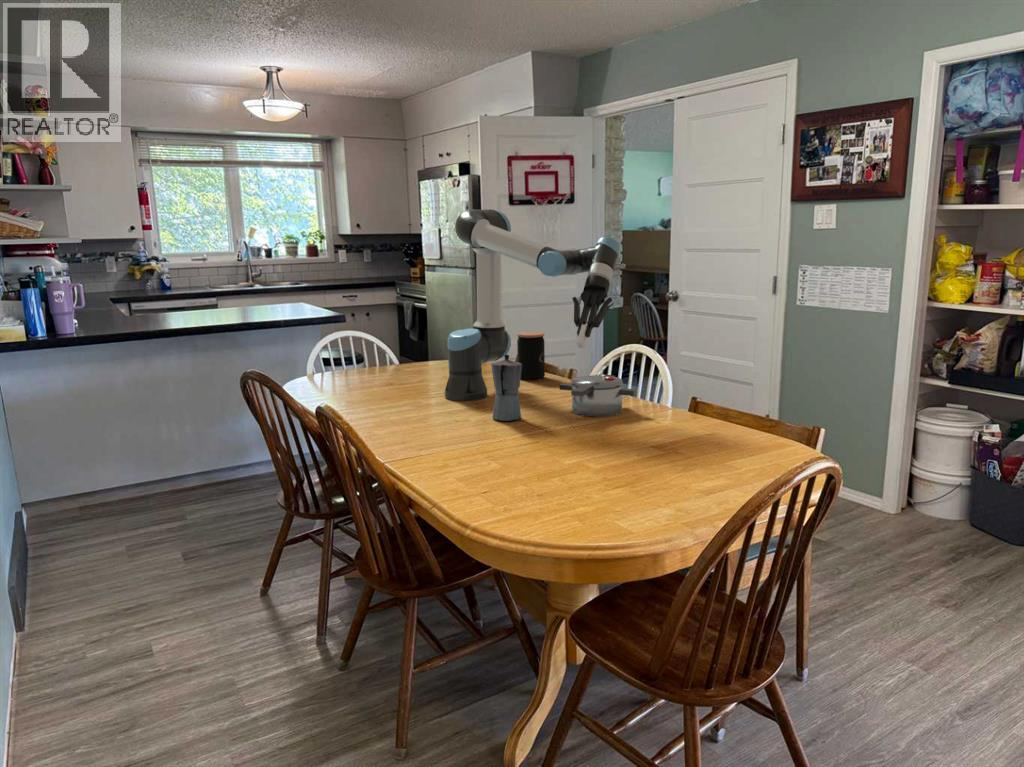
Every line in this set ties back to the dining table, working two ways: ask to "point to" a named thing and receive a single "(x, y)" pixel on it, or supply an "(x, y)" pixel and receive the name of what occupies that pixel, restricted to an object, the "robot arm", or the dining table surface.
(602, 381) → the lid
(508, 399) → the moka pot
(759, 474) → the dining table surface
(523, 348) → the coffee jar
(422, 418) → the dining table surface
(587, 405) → the pot
